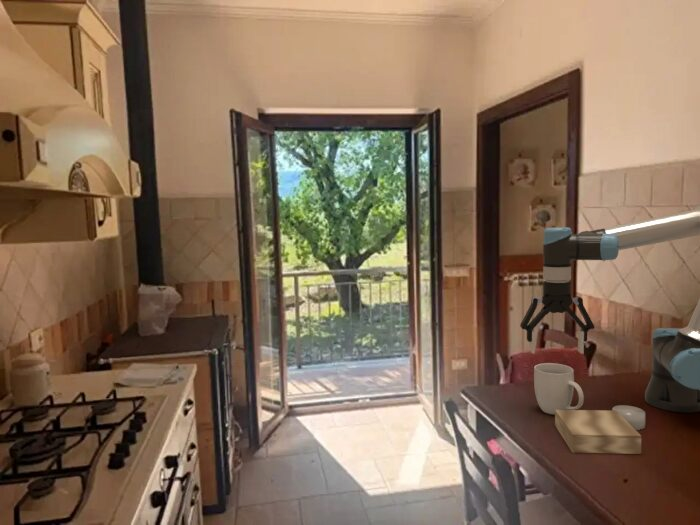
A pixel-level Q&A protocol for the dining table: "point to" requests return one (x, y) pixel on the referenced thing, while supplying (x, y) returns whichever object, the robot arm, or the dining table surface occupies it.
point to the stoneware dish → (632, 415)
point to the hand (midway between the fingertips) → (556, 352)
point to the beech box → (597, 432)
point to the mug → (555, 387)
